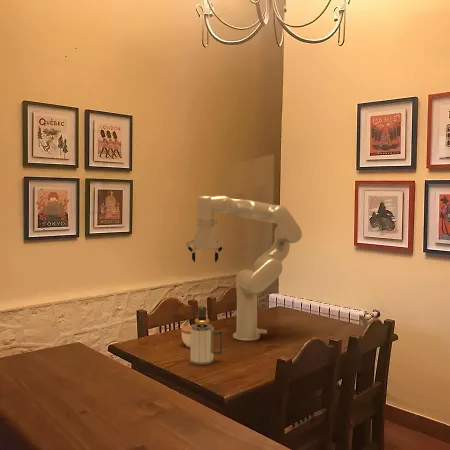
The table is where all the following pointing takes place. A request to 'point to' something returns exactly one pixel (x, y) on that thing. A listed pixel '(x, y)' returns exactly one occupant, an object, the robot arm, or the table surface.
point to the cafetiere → (203, 344)
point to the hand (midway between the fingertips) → (205, 261)
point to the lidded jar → (186, 335)
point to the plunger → (202, 316)
